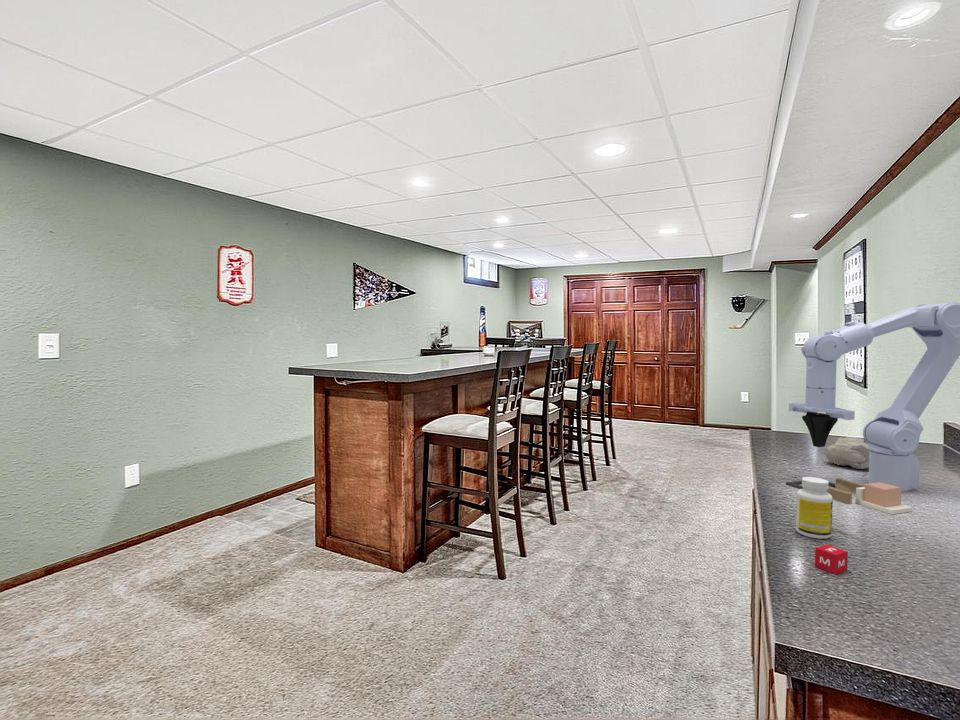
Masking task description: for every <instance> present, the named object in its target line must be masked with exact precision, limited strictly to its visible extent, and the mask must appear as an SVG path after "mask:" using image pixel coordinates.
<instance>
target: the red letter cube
mask: <svg viewBox="0 0 960 720" xmlns="http://www.w3.org/2000/svg"><path fill="white" fill-rule="evenodd" d="M814 549H815V550H814V552H815V553H814V567H816V568H818V569H821V570H823V571H825V572H828V573H830V574H833V575H838V574H841V573H845V572H848V563H849V562H848V561H849V560H848V559H849V558H848V557H849V552H848V550H844V549H841V548H838V547H836V546H833V545H830V544H824V545H820V546H818V547H817V546H816V547H815V548H814Z"/></svg>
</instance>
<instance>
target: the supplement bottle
mask: <svg viewBox="0 0 960 720" xmlns="http://www.w3.org/2000/svg"><path fill="white" fill-rule="evenodd" d="M801 481H802V484H801V486H802V487H803V489H798V491H797V492H796V505H795V506H796V507H795V509H796V510H795V531H796V532H797V533H798V534H800V535H803V536H805V537H807V538H812V539H818V540H819V539H822V540H823V539H826V540H827V539H830V538H831V537H832V534H833V532H832V531H833V529H832V527H833V501H834V500H833V498H832V496H831V495H830V494H829V493H827V490H828V488H829V487H830V486H829V481H828V480H827V479H823V478H820V477H813V476H804V477H802V478H801Z"/></svg>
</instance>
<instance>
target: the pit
mask: <svg viewBox="0 0 960 720" xmlns="http://www.w3.org/2000/svg"><path fill="white" fill-rule="evenodd" d="M828 482H829V481H828ZM785 485H786V486H789V487H792V488H795V489H798V490H800V489H803V487H802V480H794V481H786V482H785ZM835 485H836V483H832V482H829V487H832V488H835Z"/></svg>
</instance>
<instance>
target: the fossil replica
mask: <svg viewBox="0 0 960 720" xmlns="http://www.w3.org/2000/svg"><path fill="white" fill-rule="evenodd" d="M825 447H826V446H825ZM869 452H870V448H869V443H867V442H866V441H862V440H855V439H849V438H845V437H839V438H837V439H836V441H835V442H834V444H832V445H828V446H827V447H826V448H825V451H824V455H825V457H826V459H827V460H828V462H829V463H831V464H832V463H834V464H833V465H835V464H837V465H836V466H839V465H842V467H843V466H845V467H846V466H850V467H852V468H853V469H855V468H856V469H855V470H858V469H859V470H865V469H869Z"/></svg>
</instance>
